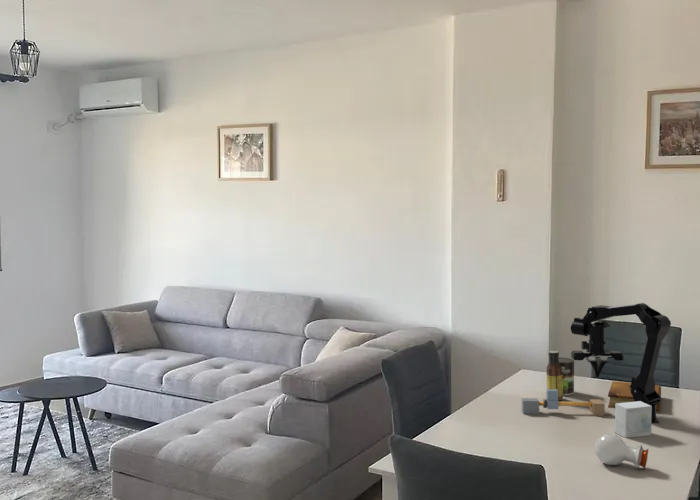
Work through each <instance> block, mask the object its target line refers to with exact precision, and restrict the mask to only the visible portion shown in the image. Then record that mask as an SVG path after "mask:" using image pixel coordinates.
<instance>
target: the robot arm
mask: <svg viewBox="0 0 700 500" xmlns="http://www.w3.org/2000/svg"><path fill="white" fill-rule="evenodd" d="M631 315H636V316H637V317H638V319H639V321H640V322H641V323H642V324H644V326H645V335H646V339H647V340H646V342H645V343H646V345H645V349H644V352H643V357H642V360H641V365H640V369H639V373H638V375H637V376H633V377H631V381H630V383H631V386H630V387H629V388H631V394H632V396H633V398H634V401H635V402H636V401H641V402H643V403H646V404H648V405H650V406H652V416H651V423H660V420H659V419H658V418H657V412H656V403H660V401H662V396H661V397H660V396H659V394H658V393H657V392H656V391H655V385H656V382H655V379H654V374H655V370H656V367H657V362H658V358H659V354H660V350H661V345H662V341H663V340H664V338H665V337H666V336H667V334H669V333H668V332H669V331H670V328H671V326H672V323H671V320H670V319H669V317H668V316H666V315H664V314H662V313H661V312H659V311H657V310H655V309H654V308H653V307H650V306H649V305H648V304H646V303H645V302H639V303H635V304H628V305H627V304H626V305H617V306H609V305H601V304H600V305H595V306H590V307H588V308H587V311H586V313H585V314H584V316H583V318H581V317H574V318H573V321H572V323H571V325H570V332H571V333H572V334H573V335H577V336H584V337H588V336H589V337H588V342H587V341H586V340H582V341H581V342H580V343H581V344H580V345H581V346H580V347H581V350H572V351H571V352H570V359H573V360H574V361H583V360H584V359H585V361H587V362H588V363H589V364H590V365H591V367H592V370H593V374H594V375H595V378H599V377H600V374H601V372H602V370H603V368H604V367H605V365H606V363H609V360H608V359H614V361H619V362H620V361H623V362H624V361H625V359H624V354H623V352H621V351H619V350H609V352H606V351H605V350H606V329H607V328H610V327H611V325H610V324H609V323H608V322H607V321H606V320H608V319H610V318H613V317H619V316H620V317H622V316H631ZM603 320H604V321H603ZM599 321H601V322H599ZM593 322H594V323H593ZM582 350H585V351H586V352H584V351H582Z"/></svg>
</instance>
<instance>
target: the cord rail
mask: <svg viewBox="0 0 700 500" xmlns="http://www.w3.org/2000/svg"><path fill="white" fill-rule="evenodd" d="M605 405H606V404H605V403H604V401H602V399H591V398H590V399H589V401H558V407H589V412H590V413H591V414H592V416H595V417H596V416H597V417H599V416H605V410H606V409H605V407H606V406H605ZM540 407H543V409H547V401H546V398H544V399H542V401H540V400H539V398H535V397H529V398H528V397H524V398H523V397H522V398H521V412H522V414H523V415H540Z"/></svg>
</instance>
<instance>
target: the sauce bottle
mask: <svg viewBox="0 0 700 500" xmlns="http://www.w3.org/2000/svg"><path fill="white" fill-rule="evenodd" d="M559 353H560V352H559V351H557V350H550V351H548V364H547V366H546V389H557V390H558V402H561V401H563V399H564V395H563V378H562V367H561V365H560V363H559V359H558V357H560V356H559V355H560V354H559Z"/></svg>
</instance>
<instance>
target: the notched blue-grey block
mask: <svg viewBox="0 0 700 500" xmlns="http://www.w3.org/2000/svg"><path fill="white" fill-rule="evenodd" d="M545 396H546V397H545V399H546V401H547V408H546V409H547V410H559V406H558V402H559V401H558V390H557V389H547V388H546V389H545Z"/></svg>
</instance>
